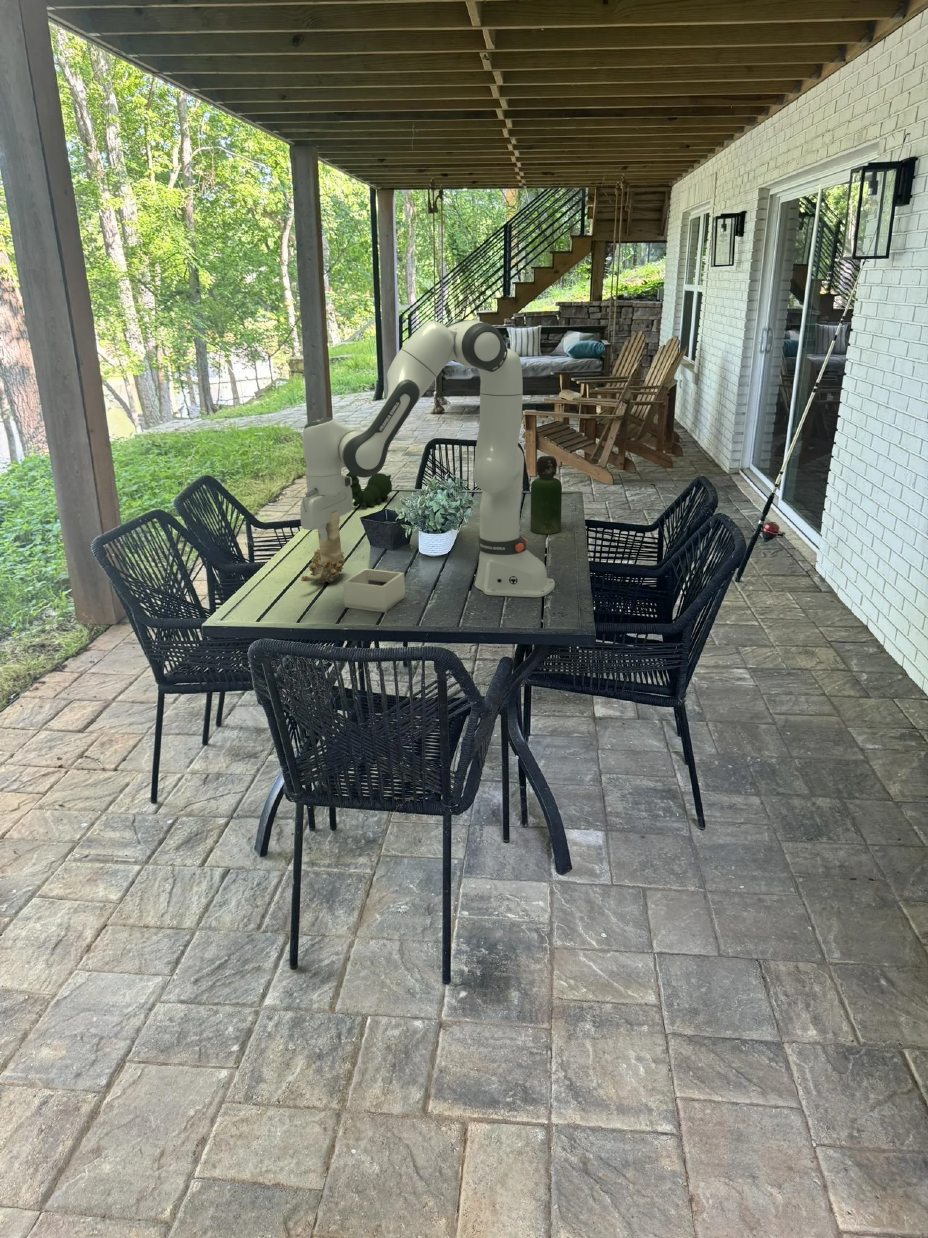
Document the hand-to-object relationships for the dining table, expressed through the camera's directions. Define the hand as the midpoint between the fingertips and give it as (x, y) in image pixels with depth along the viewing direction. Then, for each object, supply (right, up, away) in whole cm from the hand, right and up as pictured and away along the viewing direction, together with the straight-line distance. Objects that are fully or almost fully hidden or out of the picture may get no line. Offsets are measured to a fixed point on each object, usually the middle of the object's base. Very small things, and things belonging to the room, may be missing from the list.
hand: (329, 537), depth 221 cm
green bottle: (+62, +9, +73) cm, 96 cm away
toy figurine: (-1, +23, +111) cm, 113 cm away
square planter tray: (+11, -16, +11) cm, 23 cm away
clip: (+11, -16, +11) cm, 23 cm away
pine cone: (-6, -11, +26) cm, 29 cm away
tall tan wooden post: (0, -6, +2) cm, 6 cm away
